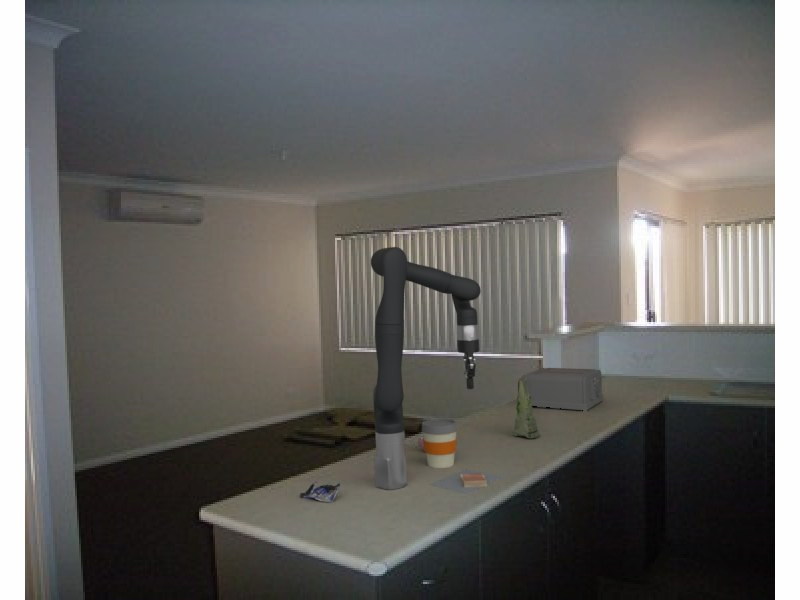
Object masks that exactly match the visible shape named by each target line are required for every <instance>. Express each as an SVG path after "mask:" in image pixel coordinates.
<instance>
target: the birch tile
mask: <svg viewBox="0 0 800 600" xmlns="http://www.w3.org/2000/svg"><path fill="white" fill-rule="evenodd" d="M460 475H461V481H462V483H463V485H464V487H479V486H483V487H488V485H487V480H486V479H485V477H484V475H483V474H482V473H473V474H460Z"/></svg>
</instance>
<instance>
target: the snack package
mask: <svg viewBox="0 0 800 600" xmlns="http://www.w3.org/2000/svg"><path fill="white" fill-rule="evenodd" d="M317 485H318V481H314V482H312V484H310V486H309V488H308V489H307V490H305V492H300V494H299V497H300V498H305V499H315V500H318V501H320V502H324V501H323V500H322V499H321V498H324V499H325V500H326V501H327V503H333V501H334V500H335V498H336V496H337V495H338V491H339V490H340V489H339V488H340V486H341V483H339V482H338V484H336V485H333V484H329V483H328V484H324V485H320V486H318V487H317ZM315 486H316V488H315ZM319 497H321V498H319Z"/></svg>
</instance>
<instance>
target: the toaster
mask: <svg viewBox="0 0 800 600" xmlns="http://www.w3.org/2000/svg"><path fill="white" fill-rule="evenodd" d="M524 375H525V377H526V380H527V386H528V391H529V395H530V397H531V403H532V406H537V407H536V408H546V407H550V409H560V408H561V409H563V410H577V411H582V410H584V411H587V410H588V411H589V409H591V408H592V407H594V406H596V405H597V404H599V403H601V401H603V402H604V394H603V385H602V381H603V380H602V379H606V376H603V375H602V370H601V369H595V368H567V367H566V368H565V367H564V368H563V367H546V368H545V367H541V368H539V369H535V370H533V371H530V372H527V373H526V374H524ZM588 411H587V412H588Z"/></svg>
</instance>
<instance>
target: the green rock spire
mask: <svg viewBox="0 0 800 600" xmlns="http://www.w3.org/2000/svg"><path fill="white" fill-rule="evenodd" d="M525 375H526V374H523V376H521V377H520V378H519V379H518V381H517V382H518V383H517V399H516V401H517V405H516V408H515V409H516V414H517V415H516V416H515V423H514V430H513V436H514V437H523V438H528V439H535V438H538V437H540V433H539V429H538V428H539V427H538V425H537V419H536V416H535V412H534V407H532V403H531V397H530V395H529V391H528V386H527V380H526V377H525Z"/></svg>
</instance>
